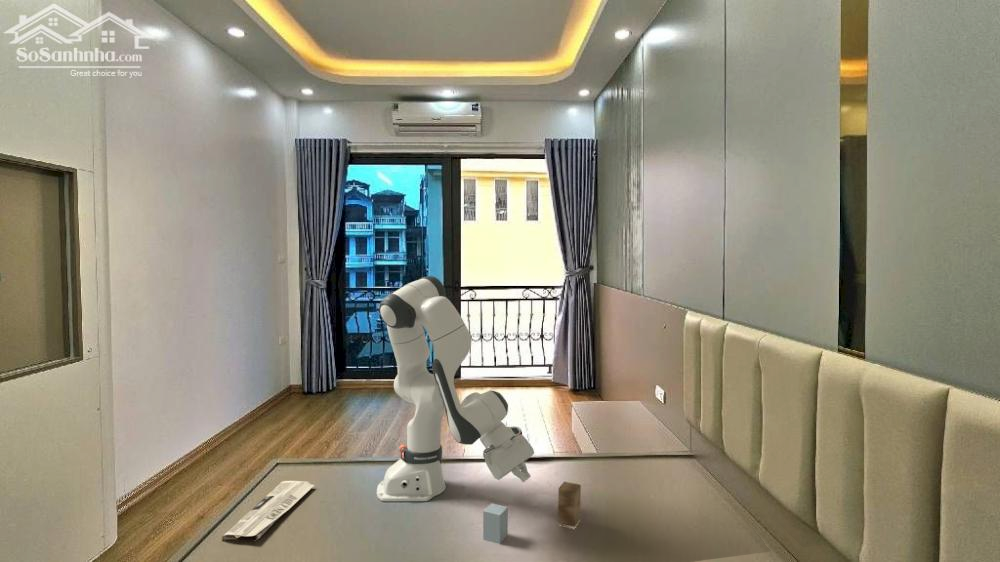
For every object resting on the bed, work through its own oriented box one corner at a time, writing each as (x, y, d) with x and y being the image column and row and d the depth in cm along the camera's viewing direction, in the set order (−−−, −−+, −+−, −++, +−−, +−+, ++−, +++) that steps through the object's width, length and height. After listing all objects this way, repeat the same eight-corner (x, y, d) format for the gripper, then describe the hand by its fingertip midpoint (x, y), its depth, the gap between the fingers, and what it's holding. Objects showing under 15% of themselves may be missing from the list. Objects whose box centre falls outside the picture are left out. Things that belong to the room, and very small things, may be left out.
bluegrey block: (483, 539, 143) (483, 511, 143) (491, 530, 148) (491, 503, 148) (499, 544, 141) (499, 515, 141) (507, 535, 146) (507, 507, 145)
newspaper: (280, 486, 176) (280, 476, 176) (316, 488, 176) (316, 477, 175) (218, 544, 141) (218, 532, 141) (263, 546, 140) (263, 533, 140)
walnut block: (558, 525, 151) (558, 488, 150) (564, 517, 155) (564, 481, 155) (574, 529, 149) (575, 491, 148) (580, 521, 153) (580, 484, 153)
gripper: (487, 445, 149) (517, 487, 144) (520, 425, 167) (548, 462, 162) (473, 458, 151) (503, 499, 147) (508, 437, 169) (535, 473, 165)
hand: (527, 479), depth 155 cm, fingers closed
